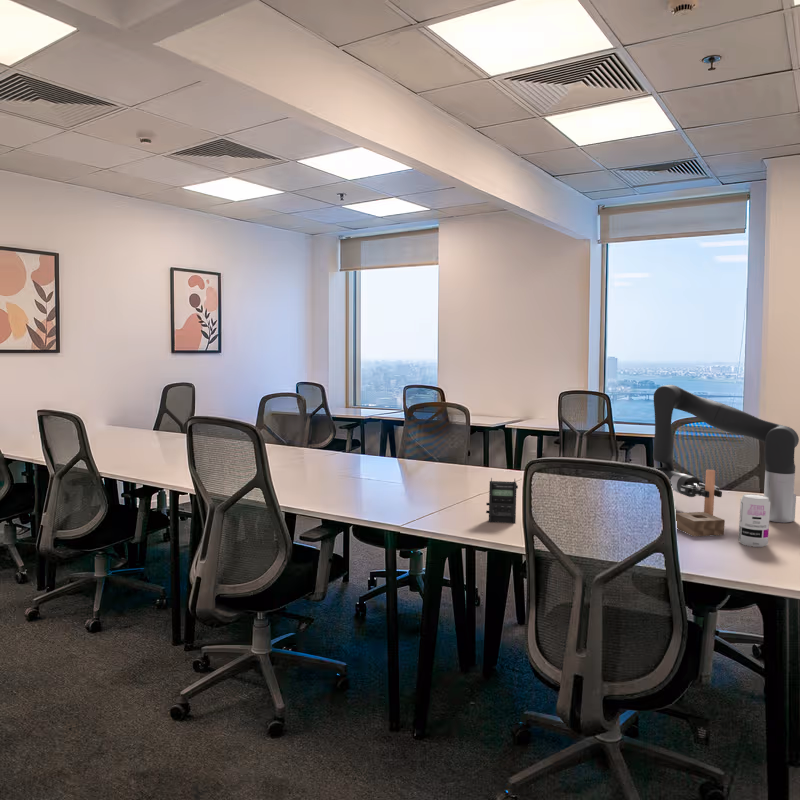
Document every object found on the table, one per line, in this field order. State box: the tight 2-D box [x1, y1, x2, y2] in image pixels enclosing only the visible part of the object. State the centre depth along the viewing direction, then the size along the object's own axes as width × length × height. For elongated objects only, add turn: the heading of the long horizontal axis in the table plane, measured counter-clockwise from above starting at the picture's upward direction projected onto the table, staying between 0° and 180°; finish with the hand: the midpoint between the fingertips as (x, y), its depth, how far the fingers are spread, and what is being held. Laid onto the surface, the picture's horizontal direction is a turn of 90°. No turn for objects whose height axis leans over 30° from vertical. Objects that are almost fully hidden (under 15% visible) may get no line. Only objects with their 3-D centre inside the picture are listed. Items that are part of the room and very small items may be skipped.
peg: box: [703, 469, 716, 516], centre depth 244 cm, size 3×3×18 cm
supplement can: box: [738, 493, 770, 548], centre depth 216 cm, size 8×8×15 cm
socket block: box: [675, 511, 726, 537], centre depth 231 cm, size 11×11×5 cm
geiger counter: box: [485, 477, 519, 524], centre depth 239 cm, size 10×4×15 cm, turn 82°
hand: (714, 494), depth 242 cm, fingers open, 4 cm apart
